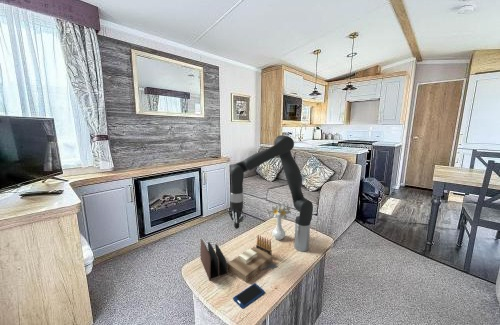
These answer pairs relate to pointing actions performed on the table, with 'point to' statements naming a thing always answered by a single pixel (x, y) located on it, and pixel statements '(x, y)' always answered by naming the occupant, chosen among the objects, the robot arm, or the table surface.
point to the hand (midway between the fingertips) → (236, 228)
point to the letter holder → (213, 261)
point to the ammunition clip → (264, 245)
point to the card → (247, 256)
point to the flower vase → (279, 219)
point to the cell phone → (248, 295)
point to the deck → (249, 265)
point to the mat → (270, 266)
